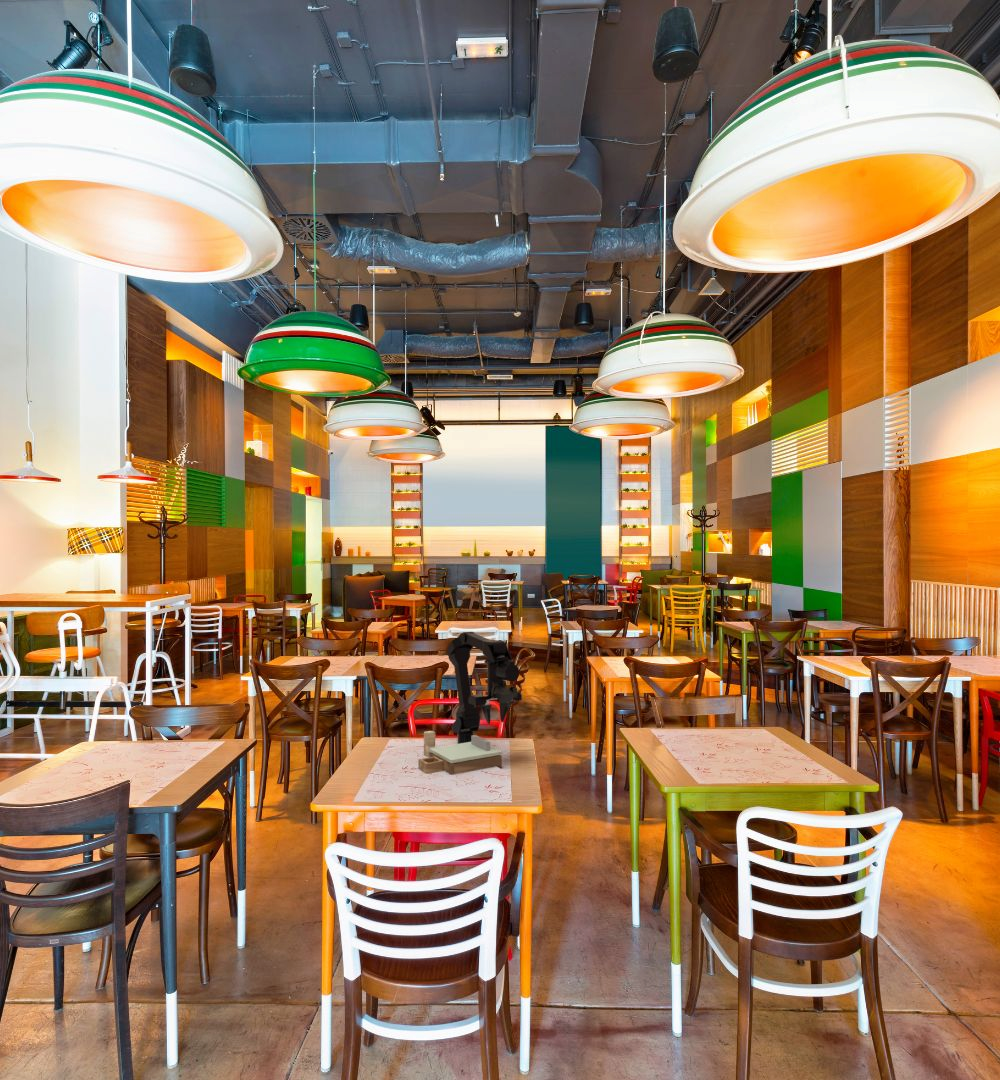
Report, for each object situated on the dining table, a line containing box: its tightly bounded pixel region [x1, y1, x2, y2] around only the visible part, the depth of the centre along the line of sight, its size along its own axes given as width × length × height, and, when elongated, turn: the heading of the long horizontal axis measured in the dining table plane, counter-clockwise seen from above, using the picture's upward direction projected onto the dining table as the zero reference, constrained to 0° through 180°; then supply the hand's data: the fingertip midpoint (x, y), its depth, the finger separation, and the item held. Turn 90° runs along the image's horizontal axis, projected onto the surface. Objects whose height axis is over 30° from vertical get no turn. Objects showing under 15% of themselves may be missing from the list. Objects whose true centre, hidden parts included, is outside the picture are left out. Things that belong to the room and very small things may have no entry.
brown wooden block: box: [423, 730, 436, 758], centre depth 231 cm, size 3×3×9 cm
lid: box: [429, 734, 503, 763], centre depth 221 cm, size 16×19×4 cm
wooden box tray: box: [417, 752, 503, 776], centre depth 220 cm, size 16×25×4 cm, turn 122°
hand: (495, 722), depth 228 cm, fingers open, 5 cm apart
